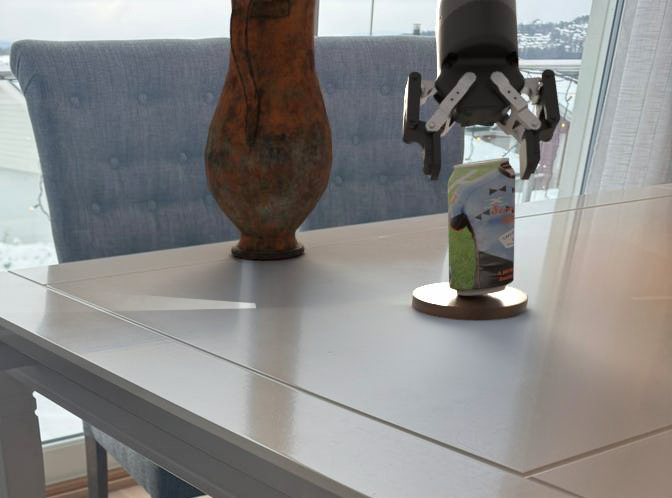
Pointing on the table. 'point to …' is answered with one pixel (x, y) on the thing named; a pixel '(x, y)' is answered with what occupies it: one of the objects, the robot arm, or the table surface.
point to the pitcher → (269, 128)
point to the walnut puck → (468, 303)
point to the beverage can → (481, 226)
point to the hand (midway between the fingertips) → (481, 174)
